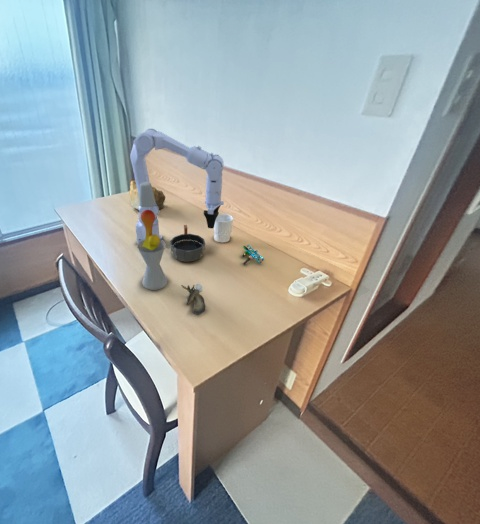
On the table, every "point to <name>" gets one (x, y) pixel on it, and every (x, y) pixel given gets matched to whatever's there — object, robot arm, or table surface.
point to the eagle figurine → (196, 298)
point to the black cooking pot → (187, 246)
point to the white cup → (223, 227)
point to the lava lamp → (151, 242)
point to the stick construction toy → (251, 254)
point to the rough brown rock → (135, 197)
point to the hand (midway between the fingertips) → (212, 223)
